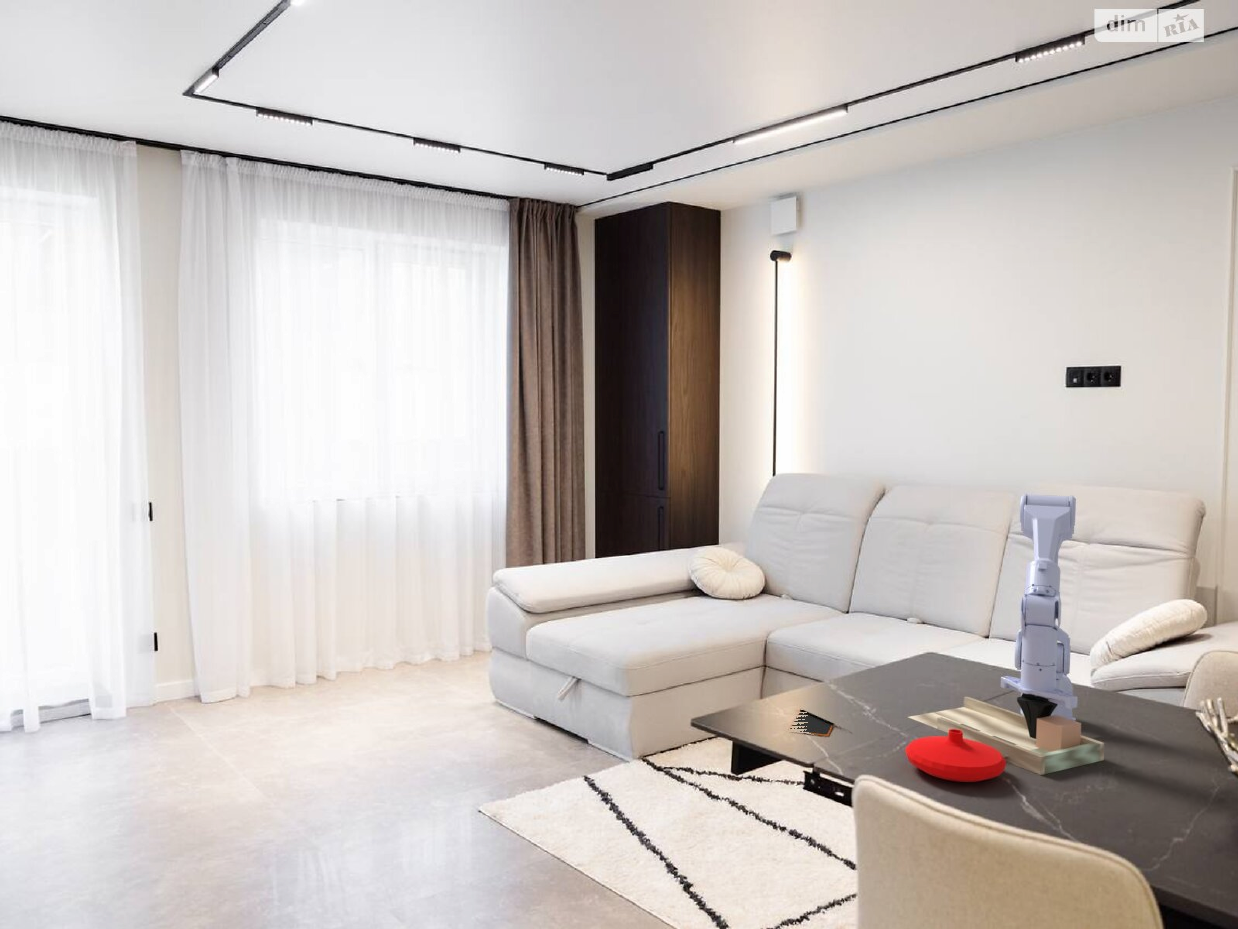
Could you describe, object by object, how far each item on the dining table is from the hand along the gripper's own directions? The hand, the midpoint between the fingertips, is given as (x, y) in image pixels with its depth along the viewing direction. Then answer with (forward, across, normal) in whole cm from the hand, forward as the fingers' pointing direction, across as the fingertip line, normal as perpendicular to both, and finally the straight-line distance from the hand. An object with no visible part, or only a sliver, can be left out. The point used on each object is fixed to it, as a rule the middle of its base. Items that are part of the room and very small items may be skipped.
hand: (1036, 737), depth 168 cm
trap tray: (+2, -6, -3) cm, 6 cm away
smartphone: (+2, -28, -27) cm, 39 cm away
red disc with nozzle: (+2, +2, -23) cm, 23 cm away
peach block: (+1, +4, 0) cm, 4 cm away
